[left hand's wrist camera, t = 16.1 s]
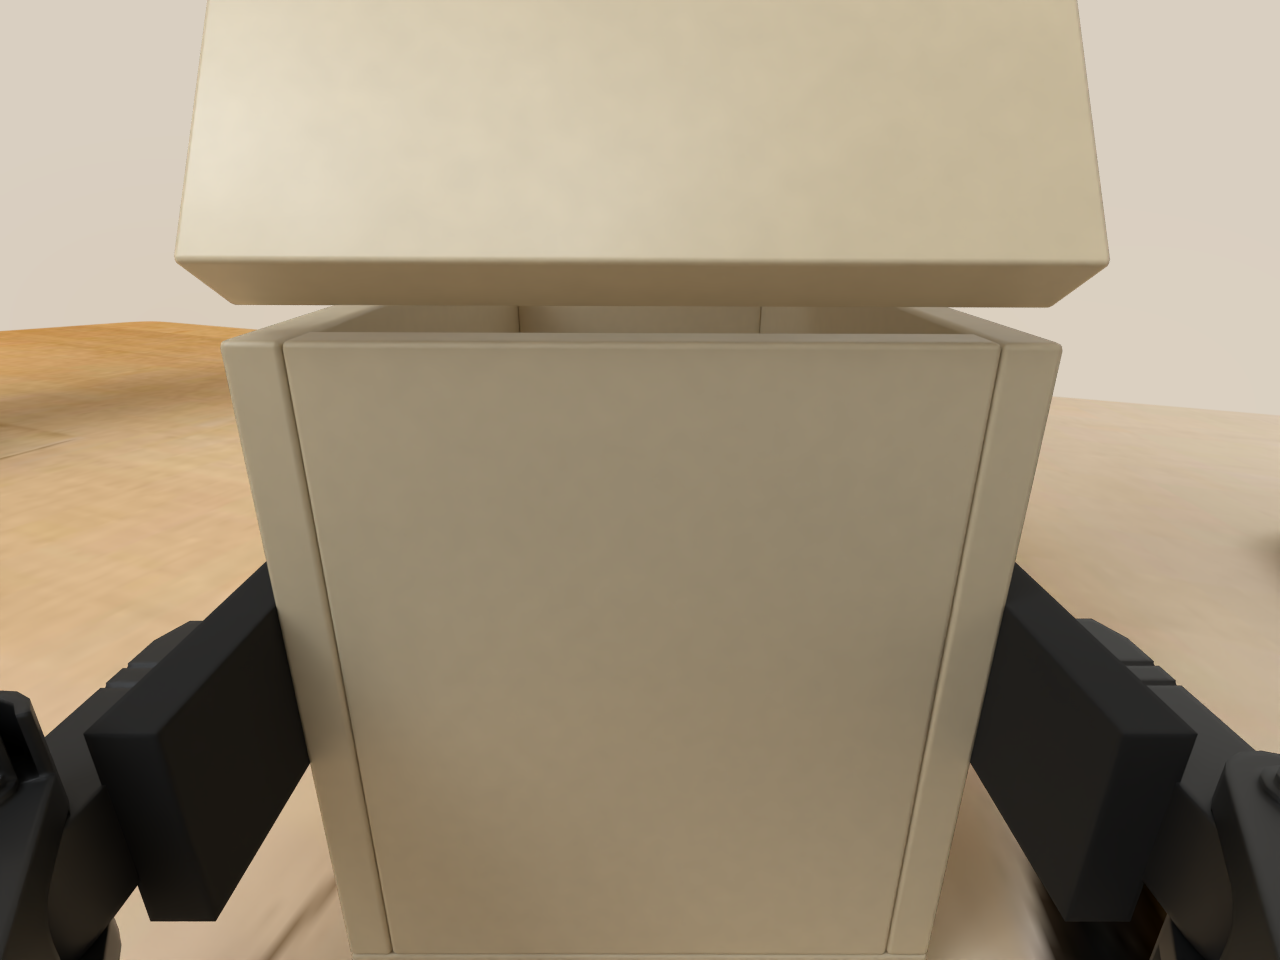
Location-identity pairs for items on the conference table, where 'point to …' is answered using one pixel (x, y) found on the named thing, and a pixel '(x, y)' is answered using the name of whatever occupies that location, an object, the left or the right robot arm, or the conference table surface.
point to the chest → (640, 614)
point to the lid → (642, 153)
